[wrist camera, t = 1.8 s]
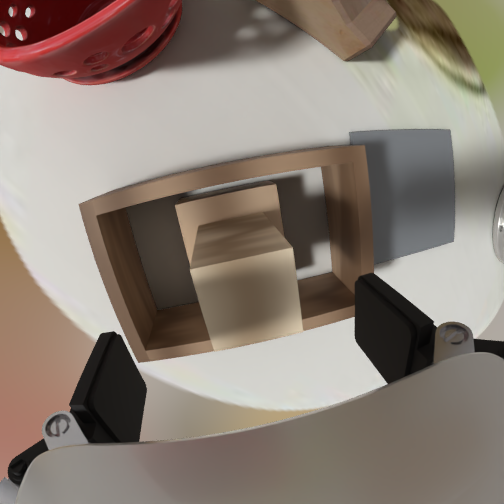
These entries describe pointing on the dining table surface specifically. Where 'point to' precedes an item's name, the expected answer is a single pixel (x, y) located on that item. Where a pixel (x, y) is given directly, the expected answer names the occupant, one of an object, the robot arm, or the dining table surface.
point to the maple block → (245, 281)
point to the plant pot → (86, 37)
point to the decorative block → (338, 22)
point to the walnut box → (222, 208)
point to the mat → (409, 189)
